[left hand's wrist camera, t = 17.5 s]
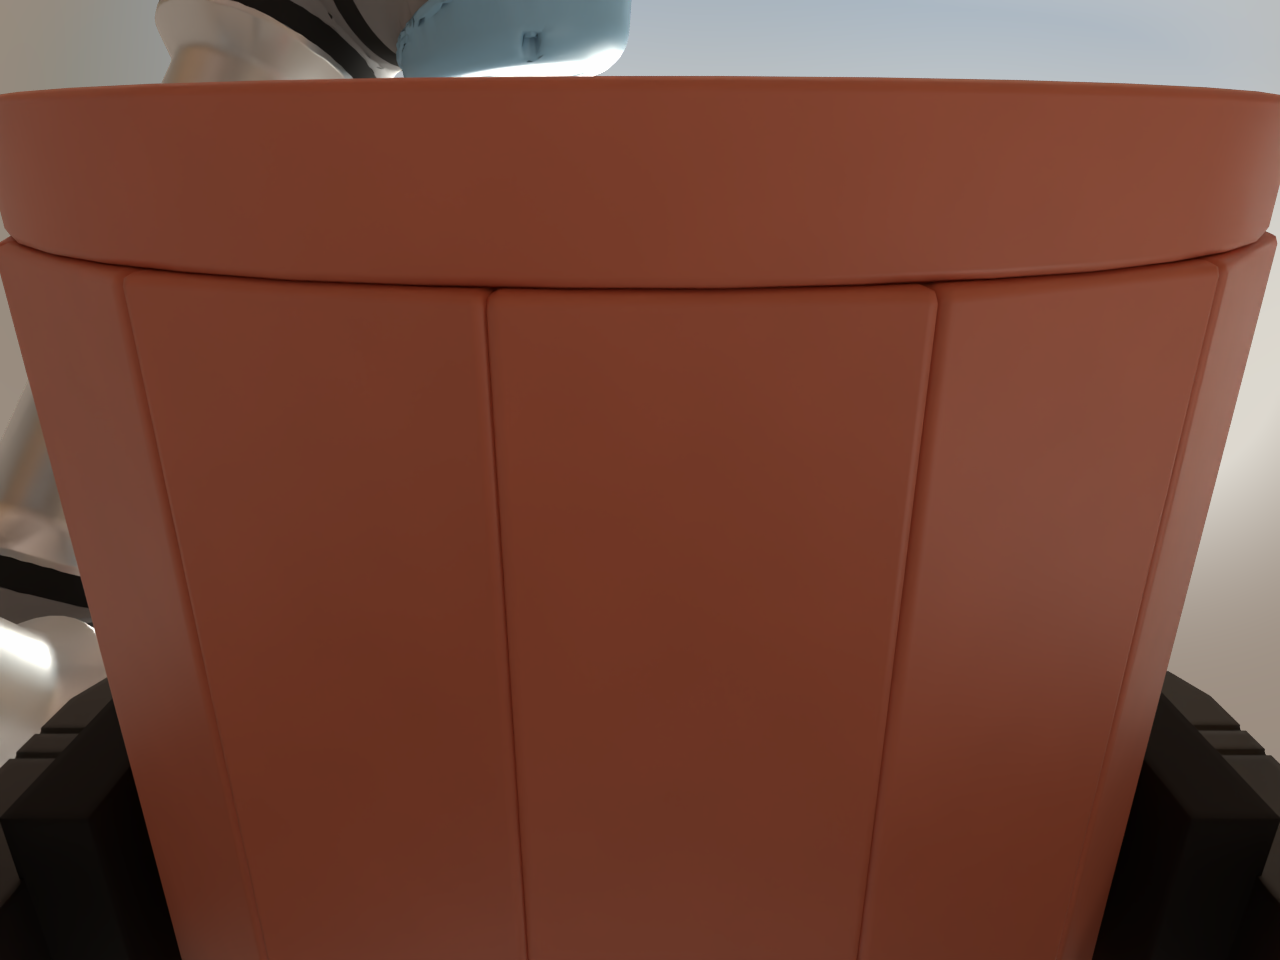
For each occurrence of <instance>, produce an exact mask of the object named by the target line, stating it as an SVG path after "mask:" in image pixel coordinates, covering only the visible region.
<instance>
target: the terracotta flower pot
mask: <svg viewBox="0 0 1280 960" xmlns="http://www.w3.org/2000/svg"><path fill="white" fill-rule="evenodd" d="M1279 185H1280V95H1277V94H1270V93H1264V92H1257V91H1244V90H1232V89H1219V88H1207V87H1187V86H1166V85H1146V84H1125V83H1093V82H1061V81H1029V80H984V79H930V78H876V77H875V78H874V77H761V76H759V77H758V76H529V77H421V78H359V79H307V80H258V81H227V82H195V83H163V84H139V85H118V86H98V87H78V88H62V89H50V90H37V91H24V92H15V93H8V94H1V95H0V212H1V215H2V219H3V223H4V227H5V229H6V230H7V232H8V233H9V234H10V235H11V236H10V237H8V238H6V239H5V240H3V241H1V242H0V274H1V278H2V281H3V285H4V289H5V293H6V297H7V301H8V304H9V308H10V312H11V316H12V319H13V323H14V327H15V331H16V335H17V338H18V342H19V346H20V350H21V354H22V357H23V361H24V365H25V369H26V372H27V376H28V380H29V384H30V388H31V391H32V395H33V399H34V403H35V406H36V410H37V414H38V418H39V422H40V425H41V429H42V433H43V437H44V440H45V444H46V448H47V452H48V456H49V459H50V463H51V467H52V471H53V475H54V478H55V482H56V486H57V490H58V493H59V497H60V501H61V505H62V509H63V512H64V516H65V520H66V524H67V527H68V531H69V535H70V539H71V543H72V546H73V550H74V554H75V558H76V561H77V565H78V569H79V573H80V577H81V580H82V584H83V588H84V592H85V595H86V599H87V603H88V607H89V611H90V614H91V618H92V622H93V626H94V630H95V633H96V637H97V641H98V645H99V648H100V652H101V656H102V660H103V664H104V667H105V671H106V675H107V679H108V682H109V686H110V690H111V694H112V698H113V701H114V705H115V709H116V713H117V716H118V720H119V724H120V728H121V732H122V735H123V739H124V743H125V747H126V750H127V754H128V758H129V762H130V766H131V769H132V773H133V777H134V781H135V785H136V788H137V792H138V796H139V800H140V803H141V807H142V811H143V815H144V819H145V822H146V826H147V830H148V834H149V837H150V841H151V845H152V849H153V853H154V856H155V860H156V864H157V868H158V871H159V875H160V879H161V883H162V887H163V890H164V894H165V898H166V902H167V905H168V909H169V913H170V917H171V921H172V924H173V928H174V932H175V936H176V940H177V943H178V947H179V951H180V955H181V958H182V960H1092V956H1093V953H1094V949H1095V945H1096V941H1097V937H1098V933H1099V929H1100V926H1101V922H1102V918H1103V914H1104V910H1105V906H1106V902H1107V899H1108V895H1109V891H1110V887H1111V883H1112V879H1113V875H1114V872H1115V868H1116V864H1117V860H1118V856H1119V852H1120V848H1121V845H1122V841H1123V837H1124V833H1125V829H1126V825H1127V821H1128V818H1129V814H1130V810H1131V806H1132V802H1133V798H1134V794H1135V791H1136V787H1137V783H1138V779H1139V775H1140V771H1141V767H1142V764H1143V760H1144V756H1145V752H1146V748H1147V744H1148V740H1149V737H1150V733H1151V729H1152V725H1153V721H1154V717H1155V713H1156V710H1157V706H1158V702H1159V698H1160V694H1161V690H1162V686H1163V682H1164V679H1165V675H1166V671H1167V667H1168V663H1169V659H1170V655H1171V652H1172V648H1173V644H1174V640H1175V636H1176V632H1177V628H1178V625H1179V621H1180V617H1181V613H1182V609H1183V605H1184V601H1185V598H1186V594H1187V590H1188V586H1189V582H1190V578H1191V574H1192V571H1193V567H1194V562H1195V559H1196V555H1197V551H1198V547H1199V544H1200V540H1201V536H1202V532H1203V528H1204V524H1205V520H1206V517H1207V513H1208V509H1209V505H1210V501H1211V497H1212V493H1213V489H1214V486H1215V482H1216V478H1217V474H1218V470H1219V466H1220V462H1221V459H1222V455H1223V451H1224V447H1225V443H1226V439H1227V435H1228V432H1229V428H1230V424H1231V420H1232V416H1233V412H1234V409H1235V405H1236V401H1237V397H1238V393H1239V389H1240V385H1241V382H1242V378H1243V373H1244V370H1245V366H1246V362H1247V358H1248V354H1249V351H1250V347H1251V343H1252V339H1253V335H1254V331H1255V327H1256V324H1257V320H1258V316H1259V312H1260V308H1261V304H1262V300H1263V297H1264V293H1265V289H1266V285H1267V281H1268V277H1269V273H1270V270H1271V266H1272V262H1273V258H1274V254H1275V250H1276V246H1277V240H1276V236H1274V235H1273V234H1270V233H1268V232H1266V230H1267V228H1268V227H1269V224H1270V220H1271V216H1272V212H1273V208H1274V205H1275V201H1276V197H1277V193H1278V189H1279Z"/></svg>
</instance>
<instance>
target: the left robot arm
mask: <svg viewBox="0 0 1280 960" xmlns="http://www.w3.org/2000/svg"><path fill="white" fill-rule="evenodd" d="M0 960H182V958H181V955H180V951H179V947H178V943H177V940H176V936H175V932H174V928H173V924H172V921H171V917H170V913H169V909H168V905H167V902H166V898H165V894H164V890H163V887H162V883H161V879H160V875H159V871H158V868H157V864H156V860H155V856H154V853H153V849H152V845H151V841H150V837H149V834H148V830H147V826H146V822H145V819H144V815H143V811H142V807H141V803H140V800H139V796H138V792H137V788H136V785H135V781H134V777H133V773H132V769H131V766H130V762H129V758H128V754H127V750H126V747H125V743H124V739H123V735H122V732H121V728H120V724H119V720H118V716H117V713H116V709H115V705H114V701H113V698H112V694H111V690H110V686H109V682H108V679H107V677H106V678H105V679H103V680H101V681H100V682H98V683H96V684H95V685H93V686H91V687H90V688H88V689H86V690H85V691H83V692H81V693H79V694H78V695H76V696H74V697H73V698H71V699H70V700H69V701H68V702H67V703H66V704H65V705H64V706H63V707H62V708H61V709H60V710H59V711H58V712H57V713H56V714H55V715H53V716H52V717H51V718H50V719H49V720H48V721H47V722H46V723H45V724H44V725H43V726H42V727H41V732H40V734H34V735H33V736H32V737H31V738H30V739H29V740H28V741H27V742H26V743H25V744H24V745H23V746H22V747H21V748H20V749H19V750H18V751H17V752H16V757H15V759H9V760H8V761H7V762H6V763H5V764H4V765H3V766H2V767H1V768H0ZM1092 960H1280V764H1279V763H1278V762H1277V761H1276V760H1275V759H1274V758H1273V757H1272V756H1271V755H1266V754H1265V749H1264V748H1263V747H1262V746H1261V745H1260V744H1259V743H1258V742H1257V741H1256V740H1255V739H1254V738H1253V737H1252V736H1251V735H1250V734H1249V733H1248V732H1247V731H1241V730H1240V725H1239V724H1238V723H1237V722H1236V721H1235V720H1234V719H1233V718H1232V717H1231V716H1230V715H1229V714H1228V713H1227V712H1226V711H1225V710H1224V709H1223V708H1222V707H1221V706H1220V705H1219V704H1218V703H1217V702H1216V701H1215V700H1214V699H1213V698H1212V697H1211V696H1209V695H1208V694H1206V693H1204V692H1203V691H1201V690H1199V689H1197V688H1196V687H1194V686H1192V685H1191V684H1189V683H1187V682H1186V681H1184V680H1182V679H1181V678H1179V677H1177V676H1176V675H1174V674H1172V673H1170V672H1169V671H1166V675H1165V679H1164V682H1163V686H1162V690H1161V694H1160V698H1159V702H1158V706H1157V710H1156V713H1155V717H1154V721H1153V725H1152V729H1151V733H1150V737H1149V740H1148V744H1147V748H1146V752H1145V756H1144V760H1143V764H1142V767H1141V771H1140V775H1139V779H1138V783H1137V787H1136V791H1135V794H1134V798H1133V802H1132V806H1131V810H1130V814H1129V818H1128V821H1127V825H1126V829H1125V833H1124V837H1123V841H1122V845H1121V848H1120V852H1119V856H1118V860H1117V864H1116V868H1115V872H1114V875H1113V879H1112V883H1111V887H1110V891H1109V895H1108V899H1107V902H1106V906H1105V910H1104V914H1103V918H1102V922H1101V926H1100V929H1099V933H1098V937H1097V941H1096V945H1095V949H1094V953H1093V956H1092Z"/></svg>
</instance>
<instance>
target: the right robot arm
mask: <svg viewBox="0 0 1280 960" xmlns="http://www.w3.org/2000/svg"><path fill="white" fill-rule="evenodd" d="M630 13H631V0H159V3H158V5H157V9H156V13H155V22H156V26H157V28H158V31H159V33H160V36H161V38H162V40H163V42H164V44H165V46H166V48H167V50H168V52H169V54H170V56H171V63H170V65H169V68H168V70H167V72H166V74H165V77H164V79H163V81H162V83H161V84H163V83H195V82H227V81H258V80H307V79H359V78H393V77H394V76H395V75H396V74H397V73H398V72H399V71H403V75H404V78H421V77H529V76H595V75H597V74H599V73H601V72H603V71H605V70H607V69H608V68H610V67H611V65H613V64H614V63H615V62H616V61H617V60H618V59H619V58H620V56H621V54H622V53H623V51H624V50H625V47H626V45H627V41H628V37H629V27H630ZM106 677H107V675H106V671H105V667H104V664H103V660H102V656H101V652H100V648H99V645H98V641H97V637H96V633H95V630H94V626H93V622H92V618H91V614H90V611H89V607H88V603H87V599H86V595H85V592H84V588H83V584H82V580H81V577H80V573H79V569H78V565H77V561H76V558H75V554H74V550H73V546H72V543H71V539H70V535H69V531H68V527H67V524H66V520H65V516H64V512H63V509H62V505H61V501H60V497H59V493H58V490H57V486H56V482H55V478H54V475H53V471H52V467H51V463H50V459H49V456H48V452H47V448H46V444H45V440H44V437H43V433H42V429H41V425H40V422H39V418H38V414H37V410H36V406H35V403H34V399H33V395H32V391H31V388H30V384H29V380H28V381H27V383H26V385H25V387H24V390H23V392H22V394H21V396H20V399H19V401H18V403H17V405H16V408H15V410H14V412H13V414H12V416H11V419H10V421H9V423H8V425H7V427H6V430H5V432H4V434H3V437H2V439H1V441H0V768H1V767H2V766H3V765H4V764H5V763H6V762H7V761H8V760H9V759H15V757H16V752H17V751H18V750H19V749H20V748H21V747H22V746H23V745H24V744H25V743H26V742H27V741H28V740H29V739H30V738H31V737H32V736H33V735H34V734H40V732H41V727H42V726H43V725H44V724H45V723H46V722H47V721H48V720H49V719H50V718H51V717H52V716H53V715H55V714H56V713H57V712H58V711H59V710H60V709H61V708H62V707H63V706H64V705H65V704H66V703H67V702H68V701H69V700H70V699H71V698H73V697H74V696H76V695H78V694H79V693H81V692H83V691H85V690H86V689H88V688H90V687H91V686H93V685H95V684H96V683H98V682H100V681H101V680H103V679H105V678H106Z"/></svg>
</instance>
